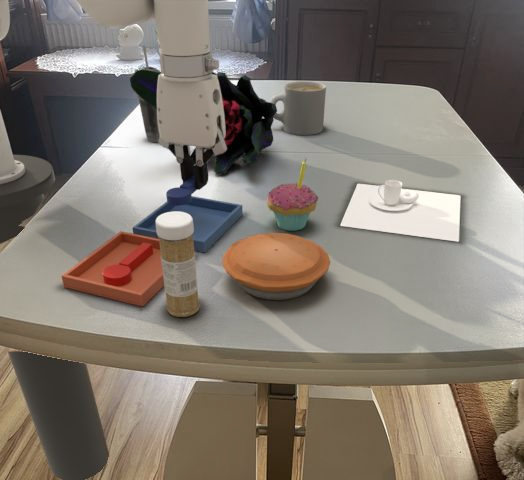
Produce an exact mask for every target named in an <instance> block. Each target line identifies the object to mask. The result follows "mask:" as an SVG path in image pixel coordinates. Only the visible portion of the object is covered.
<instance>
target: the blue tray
mask: <svg viewBox="0 0 524 480" xmlns="http://www.w3.org/2000/svg"><path fill="white" fill-rule="evenodd" d="M191 196H192V200H191V202H190V203H188V204H185V205H171V204H169V203H168V202H167V201H165V202H164V203H162V205H160V206H159V207H157V208H156V209H155V210H153V211H152V212H151V213H150V214H148V215H147V216H146V217H144V218H142V220H140V221H139V222H138V223H136V224H135V225H134V226H132V234H137V235H142V236H146V237H151V238H156V239H159V238H158V235H157V232H156V218H157V217H158V216H160V215H161V214H163V213H167V212H173V211H179V212H185V213H187V214H189V215H191V217H192V219H193V226H194V232H193V243H194V252H199V253H206V252H207V251H208V250H209V249H210V248H211V247H213V245H214V244H215V243H216V242H217V241H218V240H220V238H221V237H223V235H224V234H225V233H227V231H228V230H229V229H230V228H231V227H232V226H234V224H235V223H236V222H237V221H238V220H239V219H240V218H241V217H242V216H243V214H244V213H243V204H239V203H233V202H229V201H220V200H216V199H210V198H205V197H200V196H193V195H191Z"/></svg>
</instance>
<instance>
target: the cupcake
mask: <svg viewBox="0 0 524 480" xmlns="http://www.w3.org/2000/svg"><path fill="white" fill-rule="evenodd" d="M307 159H308V158H307V157H305V159H304V161H302V163H301V169H300V172H299V177H298V180H297V181H298V182H295V183H282V184H279V185H277V186H275V187H274V188H272V189H271V190H270V191H268V195H267V198H266V203H267V209H269V211H272V212H273V215H274V217H275V219H276V223H277V226H278V227H279V228H280V229H281V230H284V231H290V232H296V231H300V230H303V229H304V228H305V227H306V225H307V221H308V219H309V216H310V215H311V213H312V212H314V211H315V210H316V209H317V205H318V201H319V197H318V196H317V194H316V193H315V192H314V190H313V189H311V188H310V187H309V186H307V185H305V184H303V182H304V176H305V171H306V168H307Z"/></svg>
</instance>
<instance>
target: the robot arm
mask: <svg viewBox="0 0 524 480" xmlns="http://www.w3.org/2000/svg"><path fill="white" fill-rule="evenodd" d="M75 1H76V2H77V4H78V5H79V6H80V8H81V9H82V10H83V11H84V13H86V14H87V16H88V17H90V18H91V19H92V20H93V21H94V22H95V23H97V24H98V25H99V26H101V27H104V28H106V29H111V30H118V29H123V28H126V27H130V26H134V25H139V24H143V23H148V22H151V21H155V26H156V27H155V28H156V36H157V37H156V38H157V45H158V46H157V47H158V54H159V56H158V57H159V65H160V72H161V74H159V75H158V83H157V119H158V128H159V134H160V136H159V140H158V142H157V143H158V144H159V145H160V146H161V147H163V148H165V149H167V150H169V151H170V153H171V154H172V155H173V156H174V157H175V160H176V162H177V164H179V168H180V178H181V181H182V184H183V183H184V182H185V181H187V180H188V179H189V178H191V177H192V176H193V175H194V180H195V188H196V189H197V191H198V190H199V191H200V190H201V189H203V188H204V187H205V186H207V184H208V182H209V165H208V162H210V161H211V159H212V158H213V157H214V156H215V157H216V155H219V154H222V153H224V152H225V151H226V150H227V146H226V144H225V141H224V138H225V135H226V127H225V116H224V108H223V101H222V95H221V90H220V85H219V81H218V78H217V75H213V74H212V72H214V71H218V70H219V68H220V61H219V59H216V58H213V52H212V51H211V31H210V13H209V12H210V11H209V0H75ZM10 24H11V15H10V3H9V0H0V41H2V40H3V39H5V38H6V37H7V35H8V34H9V31H10ZM9 139H10V138H9V136H8V132H7V128H6V124H5V121H4V118H3V114H2V111H1V109H0V185H1V184H5V183H9V182H11V181H14V180H16V179H18V178H20V177H21V176H22V175H24V173H25V167H24V164H23V163H21V162H20V161H17V160H14V157H13V155H14V154H13V151H12V147H11V142H10V140H9ZM214 145H215V146H214ZM213 146H214V147H213ZM191 147H194V149H195V148H196V164H194V160H193V158H191V157H190V156H191ZM210 147H211V148H210Z"/></svg>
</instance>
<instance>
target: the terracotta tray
mask: <svg viewBox="0 0 524 480" xmlns="http://www.w3.org/2000/svg"><path fill="white" fill-rule="evenodd" d="M142 243H149V244H152V247H153V254H152V255H151V256H149V257H148V258H147V259H146V260H145V261H144V262H143V263H141V264H140V265H139V266H138V267H137V268H136V269H135V270H134V271H132V272H131V275H132V279H131V281H130V282H129V283H127V284H125V285H122V286H111V285H107V284H106V283H105V282H104V278H103V270H104V269H105V268H106V267H108V266H111V265H115V264H119V262H121V261H122V260H123V259H124V258H125V257H127V256H128V255H129V254H130V253H131V252H133V251H134V250H135V249H136V248H137V247H139V246H140V245H141V244H142ZM61 280H62V285H63V287H64V288H66V289H70V290H74V291H78V292H82V293H86V294H90V295H95V296H98V297H102V298H107V299H109V300H114V301H119V302H123V303H128V304H130V305H134V306H138V307H144V306H146V304H147V303H148V302H150V300H151V299H153V297H154V296H155V295H157V294H158V292H160V291H161V290H162V289H163V288H164V279H163V271H162V263H161V252H160V243H159V239H156V238H151V237H146V236H142V235H137V234H133V232H127V231H123V230H120V231H119V232H118V233H116V234H115V235H114V236H112V237H111V238H110V239H108V240H107V241H106V242H104V243H103V244H102V245H100V246H99V247H97V248H96V249H95V250H94V251H92V252H91V253H90V254H88V255H87V256H86V257H84V258H83V259H82V260H81V261H79V262H78V263H76V264H75V265H73V267H71V268H69V269H68V270H67V271H66V272H64V273H63V274H62V275H61Z"/></svg>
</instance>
